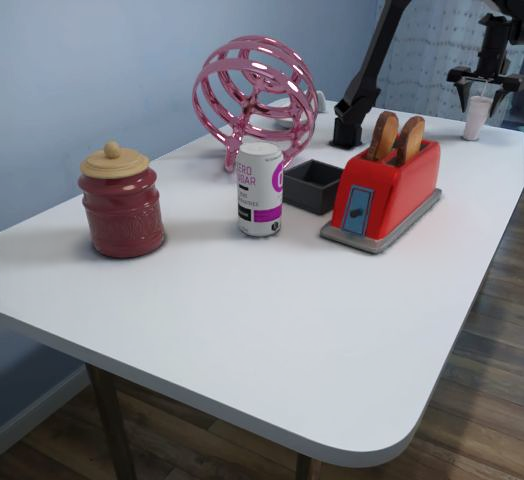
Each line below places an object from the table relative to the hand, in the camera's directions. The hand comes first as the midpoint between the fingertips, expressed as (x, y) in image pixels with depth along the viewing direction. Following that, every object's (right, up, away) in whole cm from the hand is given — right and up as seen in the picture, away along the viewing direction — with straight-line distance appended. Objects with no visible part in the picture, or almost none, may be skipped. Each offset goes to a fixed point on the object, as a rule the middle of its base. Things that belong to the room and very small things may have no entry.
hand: (477, 114), depth 130 cm
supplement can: (-57, -39, -36) cm, 78 cm away
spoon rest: (-45, +5, +15) cm, 48 cm away
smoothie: (0, -5, +4) cm, 6 cm away
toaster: (-32, -35, -31) cm, 57 cm away
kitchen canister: (-81, -42, -40) cm, 100 cm away
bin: (-46, -30, -26) cm, 60 cm away
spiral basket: (-57, -17, -11) cm, 61 cm away
